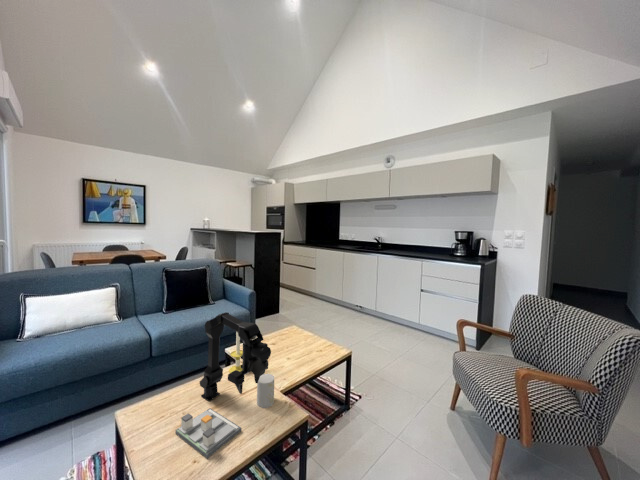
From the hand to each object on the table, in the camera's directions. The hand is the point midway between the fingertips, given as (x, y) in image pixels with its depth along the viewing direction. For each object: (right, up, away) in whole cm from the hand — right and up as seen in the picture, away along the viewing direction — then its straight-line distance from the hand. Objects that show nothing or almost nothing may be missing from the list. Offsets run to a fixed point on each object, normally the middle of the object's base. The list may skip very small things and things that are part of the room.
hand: (248, 388), depth 117 cm
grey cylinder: (+5, -14, +13) cm, 20 cm away
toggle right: (-11, -12, -15) cm, 23 cm away
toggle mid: (-15, -12, -8) cm, 21 cm away
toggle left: (-23, -12, -8) cm, 27 cm away
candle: (-18, -12, +41) cm, 46 cm away
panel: (-15, -14, -7) cm, 22 cm away
